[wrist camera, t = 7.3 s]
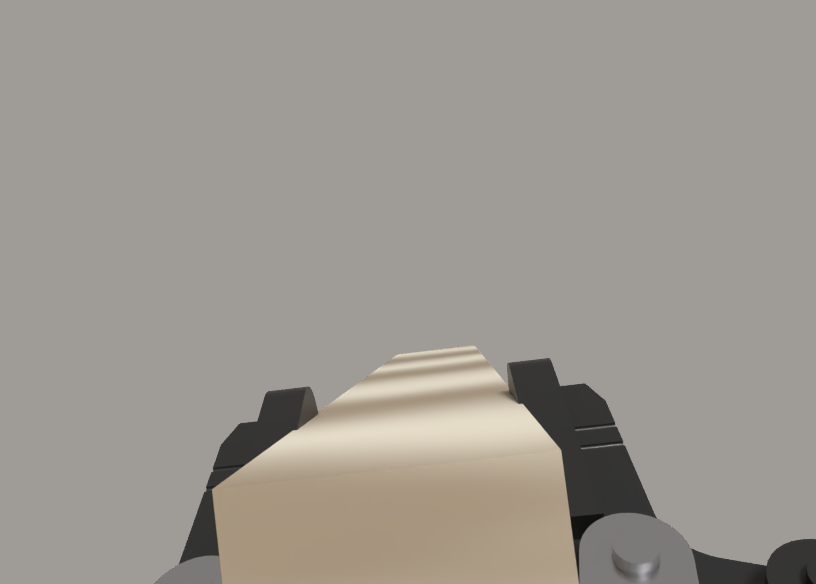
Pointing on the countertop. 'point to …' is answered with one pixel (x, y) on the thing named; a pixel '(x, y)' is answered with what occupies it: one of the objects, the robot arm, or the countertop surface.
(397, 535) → the ash bar
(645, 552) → the robot arm
